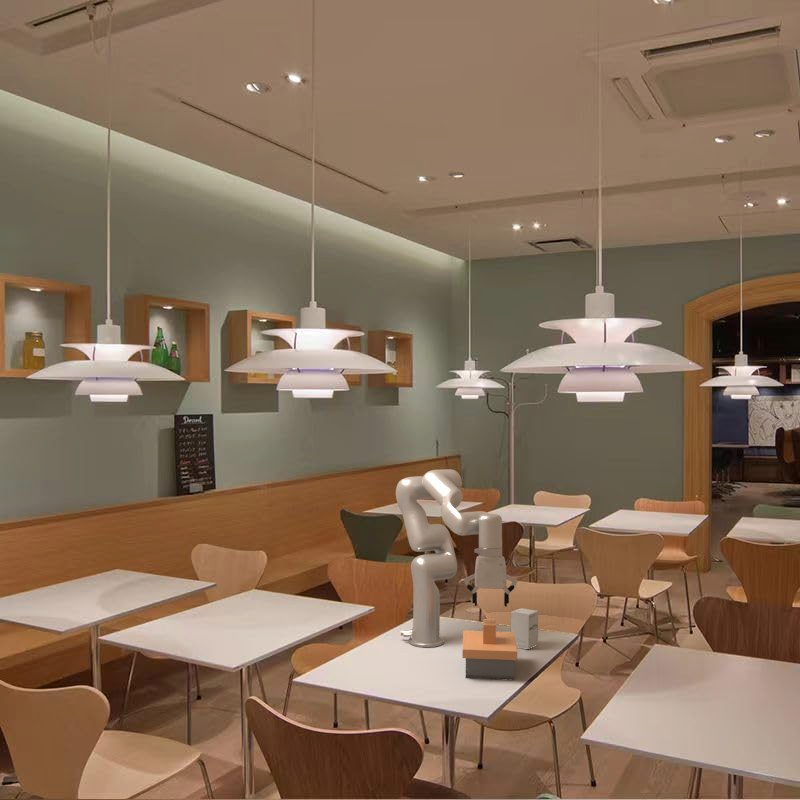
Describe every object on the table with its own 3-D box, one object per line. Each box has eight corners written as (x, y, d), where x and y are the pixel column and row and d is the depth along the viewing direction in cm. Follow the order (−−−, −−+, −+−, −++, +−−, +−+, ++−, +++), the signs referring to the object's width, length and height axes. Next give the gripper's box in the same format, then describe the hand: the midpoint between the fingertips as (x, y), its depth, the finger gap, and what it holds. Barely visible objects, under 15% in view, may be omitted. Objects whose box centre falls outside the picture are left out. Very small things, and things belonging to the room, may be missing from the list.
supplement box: (528, 650, 289) (528, 614, 289) (510, 646, 294) (510, 611, 294) (538, 645, 295) (538, 610, 295) (520, 642, 300) (520, 607, 300)
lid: (462, 658, 259) (462, 630, 259) (463, 638, 280) (463, 612, 280) (517, 660, 257) (517, 632, 257) (513, 640, 279) (514, 614, 279)
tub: (465, 678, 259) (465, 652, 259) (466, 658, 279) (466, 634, 279) (513, 679, 258) (514, 654, 258) (510, 660, 278) (511, 636, 278)
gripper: (463, 554, 266) (463, 607, 265) (517, 554, 264) (518, 608, 264) (463, 550, 273) (464, 602, 273) (516, 551, 272) (516, 603, 271)
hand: (490, 605), depth 268 cm, fingers open, 9 cm apart
